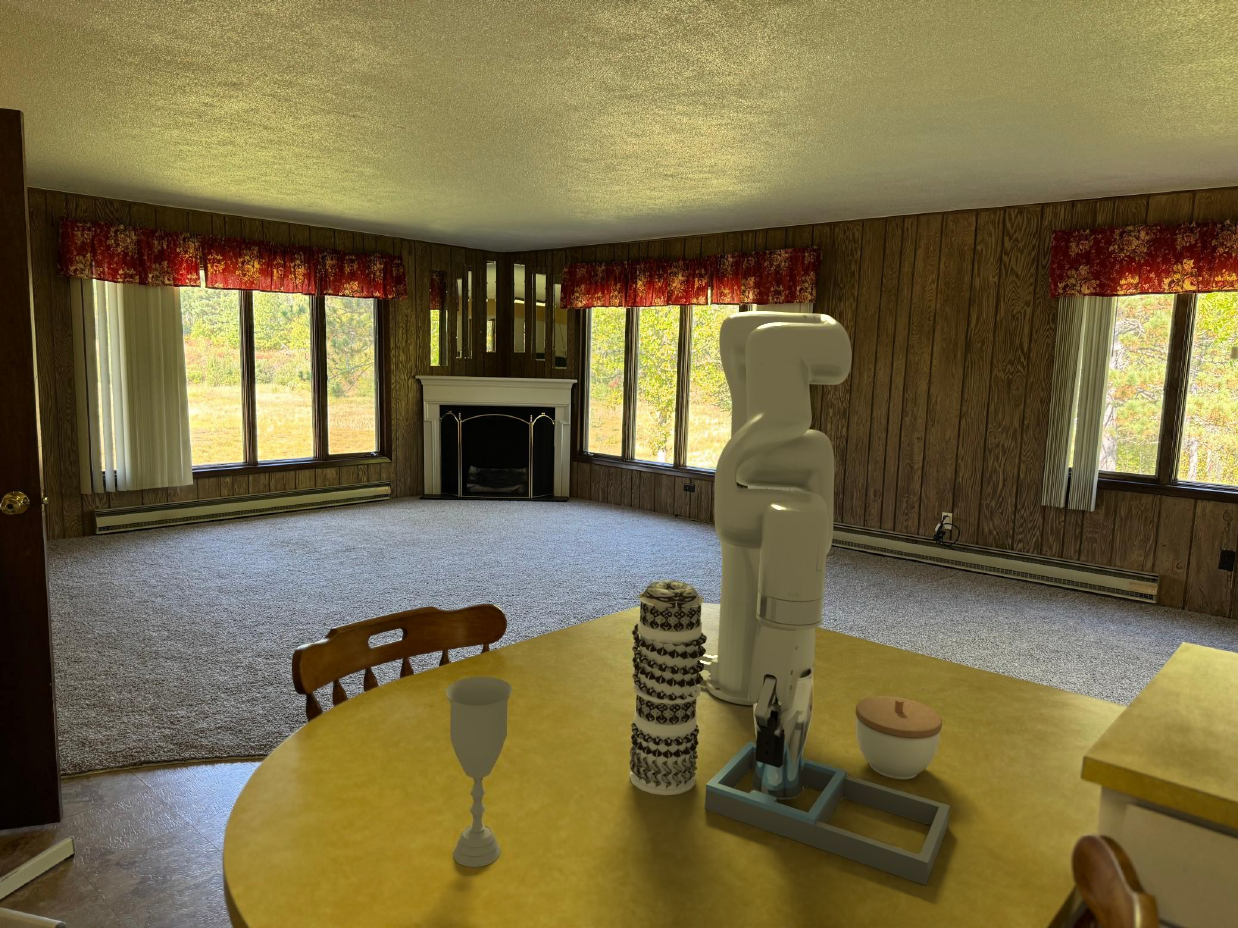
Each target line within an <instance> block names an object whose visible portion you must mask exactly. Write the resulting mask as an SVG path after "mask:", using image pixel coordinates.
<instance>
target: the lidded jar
mask: <svg viewBox="0 0 1238 928" xmlns="http://www.w3.org/2000/svg"><path fill="white" fill-rule="evenodd" d="M855 716H856V717H855V734H856V735H855V736H856V741H857V746H858V748H859V751H860V752H861V755H862V756H863V758H864V759H865V760H866V761H867V762H868V764H869V766H870V768H871V769H872V770H873V771H874V772H876V774H878V775H881V776H883V777H886V778H889V779H895V780H911V779H914V778H916V777H917V776H918V775H919V774H920V773H922V772H923V771H924V770H926V769H927V768H928V767H929V766H930V764H932V762H933V760H934V759H935V757H936V753H937V752H938V747H939V744H940V736H941V730H942V727H943V720H942V717H941V716H940V714H939V713H938V712H937V711H936V710H934V709H933V708H932V707H930V706H928V705H926V704H924V703H921V702H919V701H915V700H912V699H909V698H903V697H899V696H891V695H889V696H888V695H878V696H877V695H873V696H869V697H864V698H863V699H860V700H859V701H858V703H857V704H856V706H855Z"/></svg>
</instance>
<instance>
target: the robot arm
mask: <svg viewBox="0 0 1238 928" xmlns="http://www.w3.org/2000/svg"><path fill="white" fill-rule="evenodd" d="M718 339H719V355H720V361H721V366H722V370H723V373H724V375H725V379H726V382H727V386H728V389H729V393H730V398H731V419H730V420H731V425H730V426H731V429H730V433H731V434H730V439H729V440H728V441H727V442H726V444H725V445H724V448H723V449H722V451H721V453H720V456H719V457H718V460H717V464H716V467H715V471H714V472H715V473H714V501H713V502H714V510H713V511H714V525H715V527H714V528H715V532H716V535H717V538H718V539H719V541H720V549H721V581H720V582H721V584H720V604H719V606H720V607H719V621H718V622H719V623H718V640H717V654H715V655H709V654H708V653H705V654H704V655H703V656H701V657H699V659H698V660H700V661H701V662H702V663H703V664H704V668H703V671H708V673H709V674H708V675H707V677H706V680H705V681H706V683H705V686H706V690H707V691H708V692H709V693H710V694H711V695H713V696H714V697H716V698H718V699H719V700H722V701H723V702H724V701H725V702H728V703H732V704H737V705H743V706H753V704H756V703H757V702H758V703H757V706H756V709H755V712H754V713H753V716H754V715H755V718H756V721H757V726H756V730H757V739H756V738H755V741H756V743H755V744H756V754H755V759H756V761H758V762H761V763H764V764H768V765H771V766H774V767H777V768H780V767H781V766H782V765H783V755H784V741H785V734H782V730H783V725H784V718H785V712H786V711H788V710H790V709H791V708H792V705H793V701H794V697H795V693H796V689H797V684H798V679H799V678H802V677H806V676H808V675H809V672H810V667H811V668H812V669H813V671H814V669H815V657H816V656H815V655H816V628H819V627H820V626H821V625H822V623H823V622H822V621H823V620H822V619H823V607H824V595H825V582H826V581H825V580H826V570H827V569H826V567H827V566H826V565H827V555H828V554H829V552H830V550H831V548H832V544H833V536H834V510H835V509H834V505H835V504H834V503H835V502H834V501H835V500H834V499H835V498H834V497H835V496H834V495H835V494H834V492H835V488H834V487H835V454H834V449H833V445H832V442H831V440H830V438H829V437H828V436H827V435H826V434H825V433H824V432H822V431H820V430H818V429H810V427H811V426H812V425H811V424H812V421H813V419H812V416H813V415H812V405H811V392H810V385H826V386H827V385H831V386H833V385H840V384H842V383H843V382H844V381H845V380H846V379H847V378H848V375H849V373H850V371H851V367H852V360H853V359H852V355H853V354H852V346H851V341H850V337H849V334H848V333H847V331H846V328H844V326H843V325H842V324H841V323H840V322H838V321H837V320H836V319H835V318H834V317H832V316H830V315H828V314H825V313H823V314H822V313H809V312H807V313H804V312H785V311H784V312H781V311H765V310H764V311H761V310H760V311H759V310H757V311H743V312H737V313H734V314H733V313H732V314H730V315H729V316H727V317H726V318H725V319H724V320H723V321H722V323H721V326H720V329H719V338H718ZM737 483H738V484H739V485H742V486H746V487H753V488H743V487H742V488H741V487H738V484H737ZM783 489H784V490H783ZM785 489H786V490H785ZM788 489H789V490H788ZM790 489H791V490H790ZM775 693H776V695H777V698H778V701H779V702H781V706H780V707H777V706H773V705H772V702H773V699H774V696H775ZM770 710H771V711H775V712H778V717H777V722H775V720H774V718H773V717H770V715H771V714H770Z"/></svg>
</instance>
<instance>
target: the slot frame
mask: <svg viewBox="0 0 1238 928" xmlns="http://www.w3.org/2000/svg"><path fill="white" fill-rule="evenodd" d="M755 754H756V743H754V742H749V741H747V742H746V743H745V744H744V746H743V747H742V748H741V749H740V750H738V751H737V753H735V754H734V755H733V756H732V758H730V760H729V761H728V762H727V763H726V764H725V765H724V766H723V767H722V768H721V769H720V770H718V771H717V773H716V774H715V775H713V777H712V778H711V779H710V780H709V781H708V782H707V783H706V784H705V799H704V800H705V801H704V810H706V811H709V812H712V813H716V814H718V815H722V816H724V817H726V818H729V819H733V820H736V821H738V822H740V823H741V822H742V823H744V824H748V825H749V826H750V825H751V826H753V827H755V828H756V827H757V828H759V829H761V830H764V831H767V832H771V833H773V834H777V835H779V836H782V837H784V838H788V839H790V840H794V841H797V842H799V843H803V844H806V845H807V846H811V847H813V848H816V849H820V850H822V851H825V852H828V853H832V854H834V855H837V856H840V857H843V858H845V859H848V860H851V861H855V862H856V863H860V864H863V865H865V866H869V867H871V868H873V869H877V870H880V871H884V872H886V873H888V874H892V875H895V876H897V877H900V878H902V879H903V878H904V879H906V880H909V881H912V882H914V883H918V884H920V885H924V886H926V885H927V883H928V881H929V878H930V876H931V874H932V870H933V867H934V864H935V862H936V859H937V856H938V854H939V851H940V848H941V846H942V843H943V841H944V837H945V835H946V832H947V830H948V826H949V821H950V820H949V819H950V807H951V806H950V805H949V804H946V803H942V802H939V801H937V800H931V799H929V798H925V797H922V796H918V795H914V794H911V793H908V792H905V791H902V790H898V789H895V788H891V787H888V786H884V785H881V784H877V783H874V782H871V781H867V780H864V779H860V778H858V777H855V776H850V775H848V770H846V769H842V768H839V767H835V766H834V765H833V766H832V765H829V764H825V763H822V762H818V761H814V760H811V759H809V758H805V757H802V762H801V771H802V780H803V787H807V788H810V789H813V790H816V791H819V792H821V794H820V795H819V796H818V798H817V799H816V801H815V802H814V803H813V805H812V806H811V807H810V809H809V810H808V812H807V811H804V810H801V809H797V808H795V807H791V806H788V805H785V804H782V803H780V802H778V799H777V798H776V797H773V796H770V795H767V794H764V793H761V792H758V791H756V790H755V789H751V790H750V792H746V791H742V790H739V789H736V787H737V786H738V785H739V784H740V783H741V781H742V780H743V779H744V778H745V777H746V775H748V773H749V772H750V771H751V770H752V771H754V770H755V766H756V759H755ZM843 799H846V800H849V801H851V802H856V803H858V804H861V805H865V806H868V807H871V808H875V809H878V810H881V811H885V812H886V813H889V814H894V815H897V816H900V817H904V818H905V819H910V820H913V821H917V822H920V823H922V824H926V825H929V826H930V828H929V831H928V834H927V836H926V839H925V842H924V843H923V846H922V849H921V851H920V853H915V852H913V851H909V850H907V849H904V848H900V847H897V846H894V845H891V844H888V843H885V842H882V841H879V840H876V839H873V838H869V837H867V836H864V835H861V834H858V833H856V832H852V831H848V830H846V829H842V828H840V827H836V826H833V825H830V824H828V821H829V820H830V818H831V817H832V816H833V815H834V812H835V811H836V810H837V808H838V806H839V804H840V803H841V801H842V800H843Z"/></svg>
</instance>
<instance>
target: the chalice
mask: <svg viewBox="0 0 1238 928" xmlns="http://www.w3.org/2000/svg"><path fill="white" fill-rule="evenodd" d="M512 692H513V687H512V685H511V684H510V683H509V682H508V681H505V680H504V679H501V678H498V677H491V676H472V677H467V678H462V679H460V680H456V681H455V682H453V683H451V684H450V685H448V686H447V688H446V690H445V695H446V698H447V700H448V701H449V704H450V721H449V722H450V730H449V731H450V732H449V733H450V742H451V745H452V748H453V751H454V753H455V756H456V758H457V760H458V762H459V764H460V766H461V768H462V771H464V773H465V775H466V776H467V777H468V778H471V779H473V786H472V789H471V791H470V793H469V794H470V795H471V797H472V802H473V803H472V806H471V807H469V813H470V814H471V815H472V819H473V820H472V824H471V825H469V826H466V827H465V829H464V830H463V831H462V832H461V833H460V835H459V838H458V840H457V842H456V845H455V847H454V850H453V851H452V858H453V859H454V861H455V862H457V863H458V864H460V865H461V866H464V867H469V868H470V867H471V868H479V867H484V866H488V865H490V864H492V863H494V862H495V861H496V860H497V859H498V858H500V856H501V852H502V849H501V848H502V847H501V846H500V845H499V843H498V839H497V837H496V836H495V835H496V834H495V832H494V831H493V830H492V828H491V827H489V826H488V825H486V824H484V823H483V820H482V819H483V815H484V813H485V812H486V811H487V808H486V806H485V805H484V804H483V798H484V796H485V794H486V790H485V789H484V786H483V779H484V778H485V777H488V776H489V775H490V774H491V772H492V771H493V768H494V767H495V765H496V763H497V761H498V759H499V757H500V755H501V752H502V750H503V747H504V743H505V741H506V738H507V736H508V701H509V698H510V697H511V695H512Z"/></svg>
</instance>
